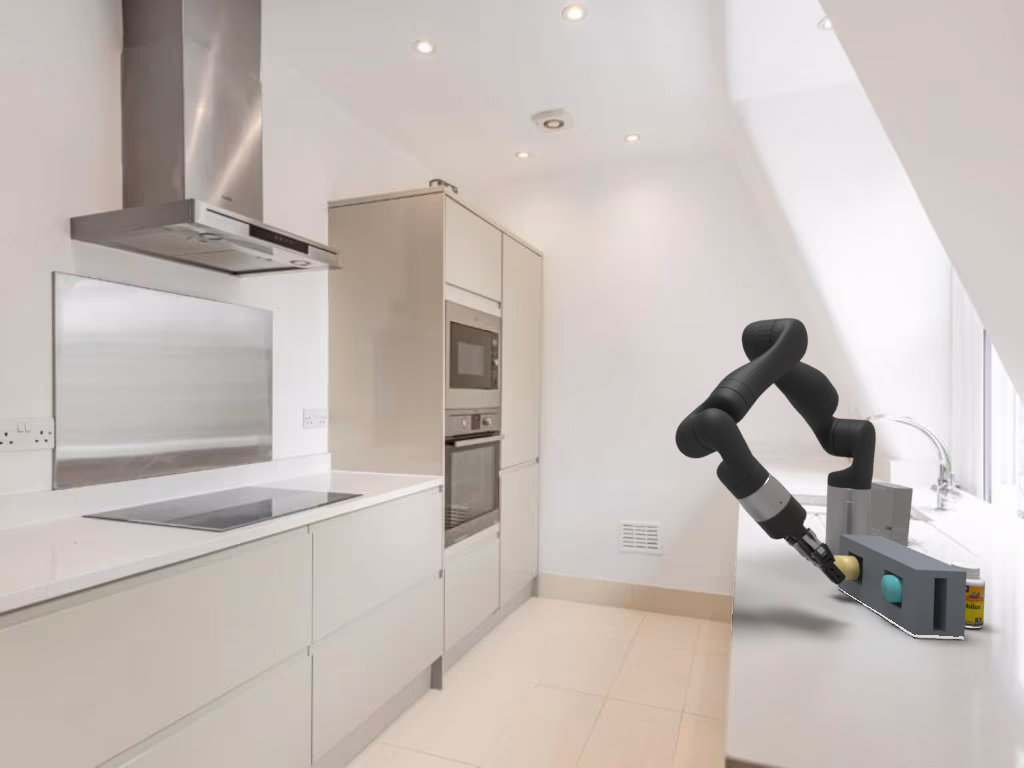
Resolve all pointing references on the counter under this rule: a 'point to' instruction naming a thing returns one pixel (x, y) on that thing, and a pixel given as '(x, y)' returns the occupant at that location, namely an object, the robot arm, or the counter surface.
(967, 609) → the supplement bottle
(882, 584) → the teal button
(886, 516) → the skincare box
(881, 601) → the console
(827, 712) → the counter surface
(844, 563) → the mustard button
